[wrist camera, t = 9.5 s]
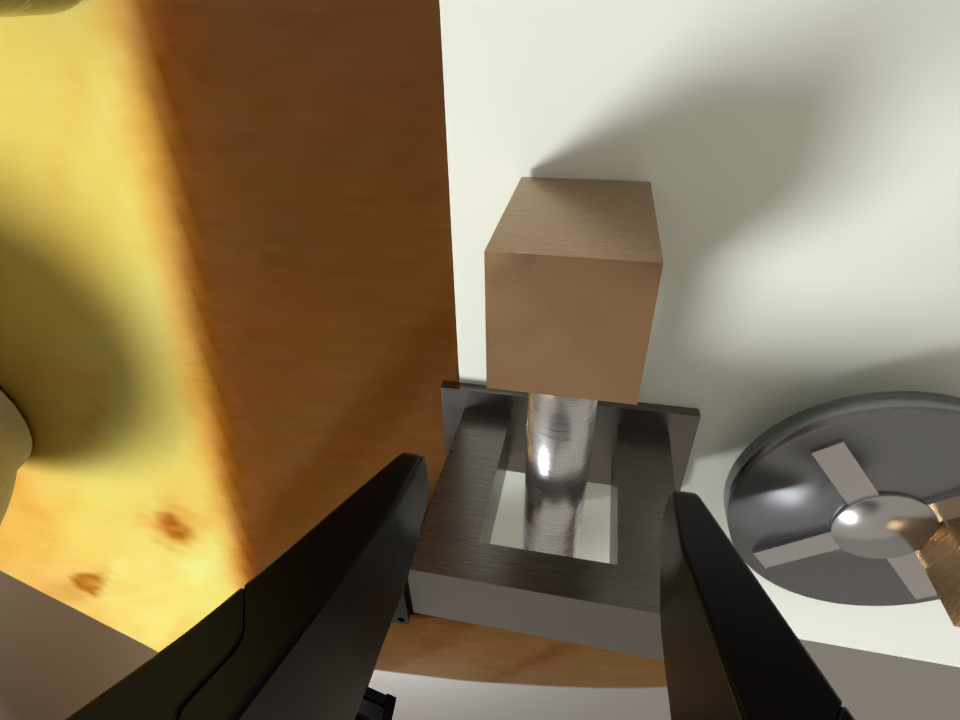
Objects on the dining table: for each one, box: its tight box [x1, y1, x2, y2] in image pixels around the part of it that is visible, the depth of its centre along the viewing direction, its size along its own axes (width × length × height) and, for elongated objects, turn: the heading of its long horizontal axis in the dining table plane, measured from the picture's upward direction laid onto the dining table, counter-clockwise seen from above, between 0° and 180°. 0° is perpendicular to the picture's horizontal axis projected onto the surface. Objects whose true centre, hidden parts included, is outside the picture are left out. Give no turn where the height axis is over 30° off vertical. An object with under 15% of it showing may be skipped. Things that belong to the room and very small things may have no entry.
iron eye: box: [408, 381, 701, 660], centre depth 20 cm, size 4×10×8 cm, turn 91°
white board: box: [440, 0, 960, 667], centre depth 20 cm, size 30×27×2 cm
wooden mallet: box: [484, 177, 663, 558], centre depth 19 cm, size 15×4×6 cm, turn 1°
